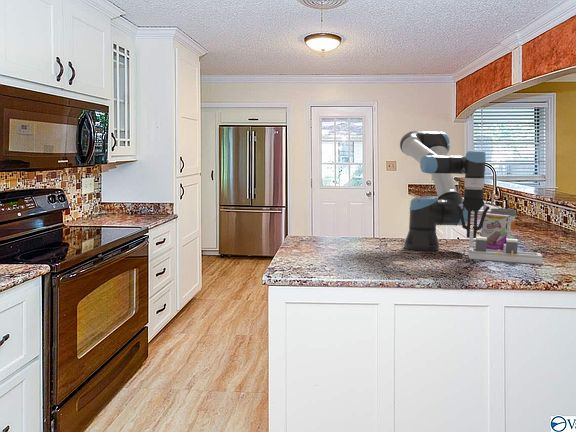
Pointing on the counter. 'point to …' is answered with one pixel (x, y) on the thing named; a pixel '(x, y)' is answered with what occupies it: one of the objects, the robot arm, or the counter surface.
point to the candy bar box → (496, 230)
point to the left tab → (481, 243)
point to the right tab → (511, 245)
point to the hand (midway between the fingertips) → (470, 245)
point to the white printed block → (506, 212)
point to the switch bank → (506, 256)
